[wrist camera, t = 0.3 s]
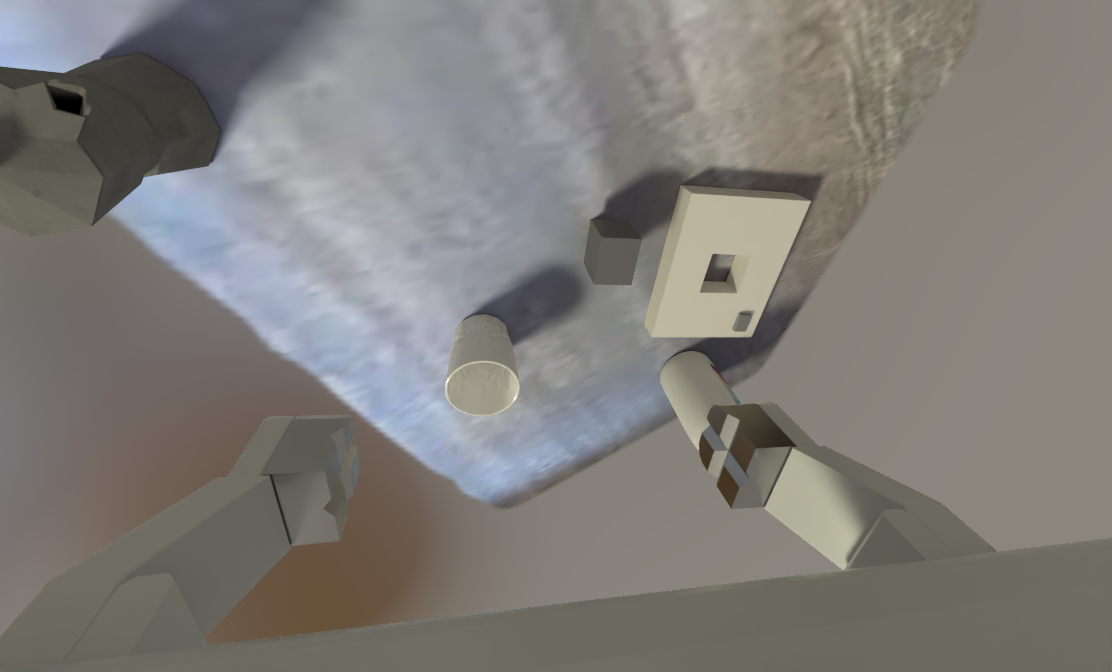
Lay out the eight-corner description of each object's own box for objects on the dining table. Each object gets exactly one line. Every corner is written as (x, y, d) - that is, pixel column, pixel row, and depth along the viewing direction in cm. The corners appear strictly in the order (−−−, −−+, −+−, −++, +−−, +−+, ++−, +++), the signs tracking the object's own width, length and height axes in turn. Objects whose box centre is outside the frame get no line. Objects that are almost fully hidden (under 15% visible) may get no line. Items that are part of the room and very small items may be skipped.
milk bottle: (651, 389, 64) (711, 510, 48) (667, 347, 60) (738, 465, 44) (698, 390, 66) (771, 507, 49) (717, 350, 61) (803, 463, 45)
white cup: (523, 320, 54) (531, 371, 46) (499, 367, 57) (503, 422, 49) (461, 301, 51) (459, 352, 43) (441, 351, 54) (435, 407, 46)
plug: (586, 211, 47) (601, 237, 41) (621, 213, 47) (641, 239, 42) (579, 254, 50) (593, 284, 44) (613, 255, 50) (631, 285, 44)
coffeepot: (155, 6, 32) (-105, -14, 18) (264, 123, 38) (132, 181, 23) (26, 123, 35) (-289, 188, 21) (144, 217, 41) (-40, 321, 26)
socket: (680, 184, 47) (694, 195, 44) (794, 192, 49) (814, 203, 46) (644, 324, 57) (653, 339, 54) (740, 324, 59) (753, 339, 56)
